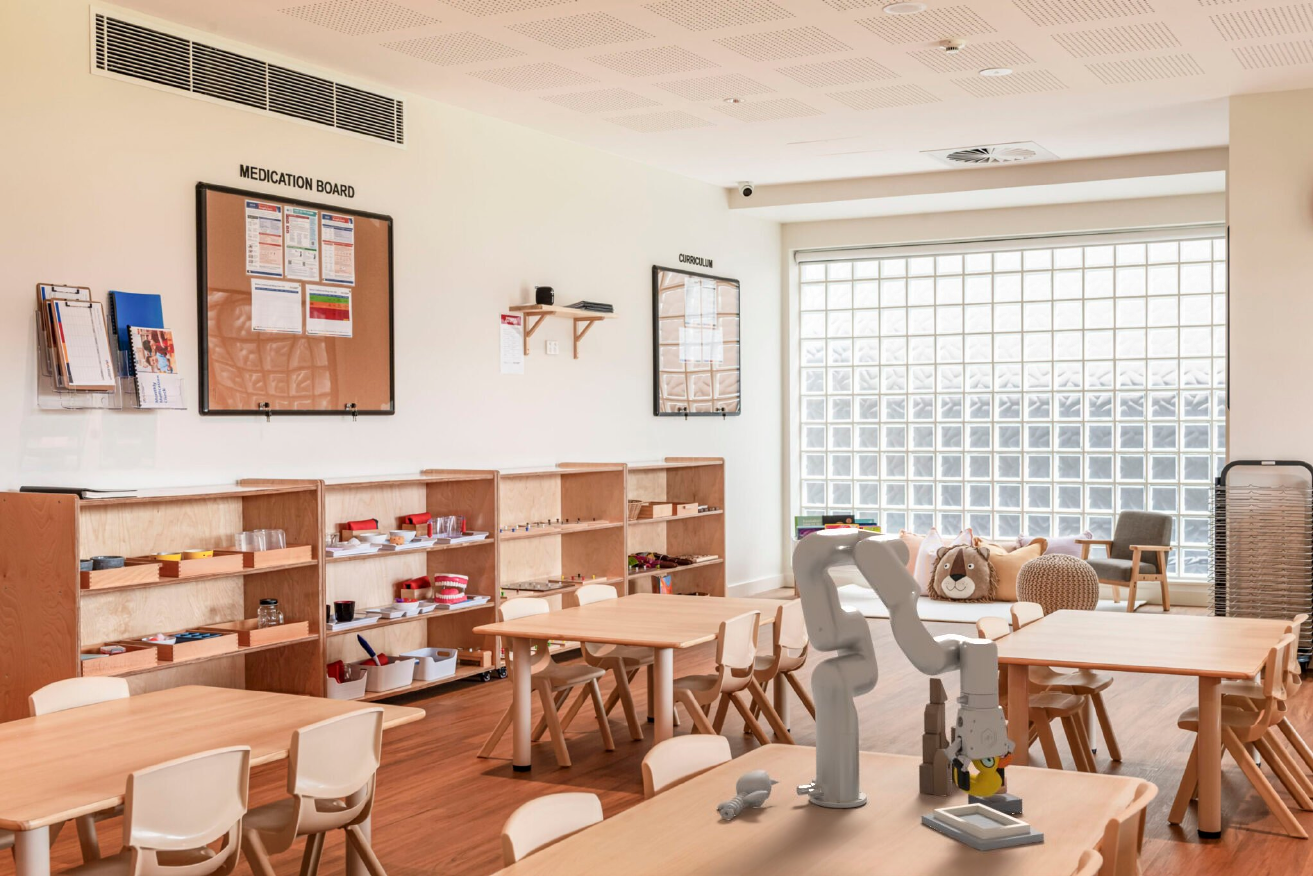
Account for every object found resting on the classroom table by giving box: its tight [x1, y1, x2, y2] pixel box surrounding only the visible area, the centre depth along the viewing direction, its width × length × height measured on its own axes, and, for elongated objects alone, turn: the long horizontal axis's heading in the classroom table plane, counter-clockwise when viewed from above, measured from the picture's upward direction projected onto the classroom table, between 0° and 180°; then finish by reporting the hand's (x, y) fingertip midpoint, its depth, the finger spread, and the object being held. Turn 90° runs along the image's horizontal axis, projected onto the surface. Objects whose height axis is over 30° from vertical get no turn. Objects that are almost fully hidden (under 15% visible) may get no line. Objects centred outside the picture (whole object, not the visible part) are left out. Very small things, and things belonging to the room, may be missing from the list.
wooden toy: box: [918, 677, 965, 797], centre depth 285 cm, size 15×7×25 cm, turn 151°
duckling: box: [954, 753, 1013, 797], centre depth 251 cm, size 11×5×10 cm, turn 72°
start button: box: [995, 776, 1008, 794], centre depth 266 cm, size 5×5×3 cm
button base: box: [967, 792, 1023, 815], centre depth 266 cm, size 8×8×3 cm
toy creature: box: [716, 769, 781, 820], centre depth 269 cm, size 13×7×20 cm
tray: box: [920, 803, 1045, 852], centre depth 251 cm, size 15×20×3 cm
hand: (981, 786), depth 251 cm, fingers closed on duckling, 7 cm apart
